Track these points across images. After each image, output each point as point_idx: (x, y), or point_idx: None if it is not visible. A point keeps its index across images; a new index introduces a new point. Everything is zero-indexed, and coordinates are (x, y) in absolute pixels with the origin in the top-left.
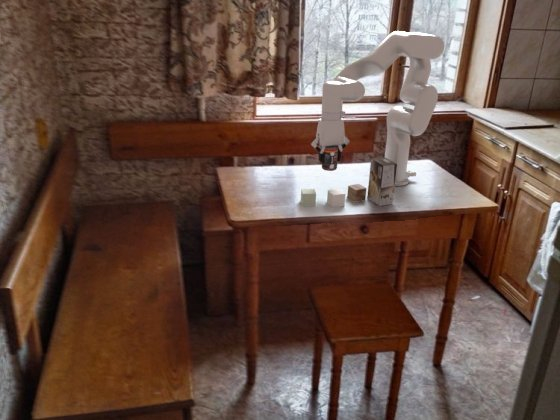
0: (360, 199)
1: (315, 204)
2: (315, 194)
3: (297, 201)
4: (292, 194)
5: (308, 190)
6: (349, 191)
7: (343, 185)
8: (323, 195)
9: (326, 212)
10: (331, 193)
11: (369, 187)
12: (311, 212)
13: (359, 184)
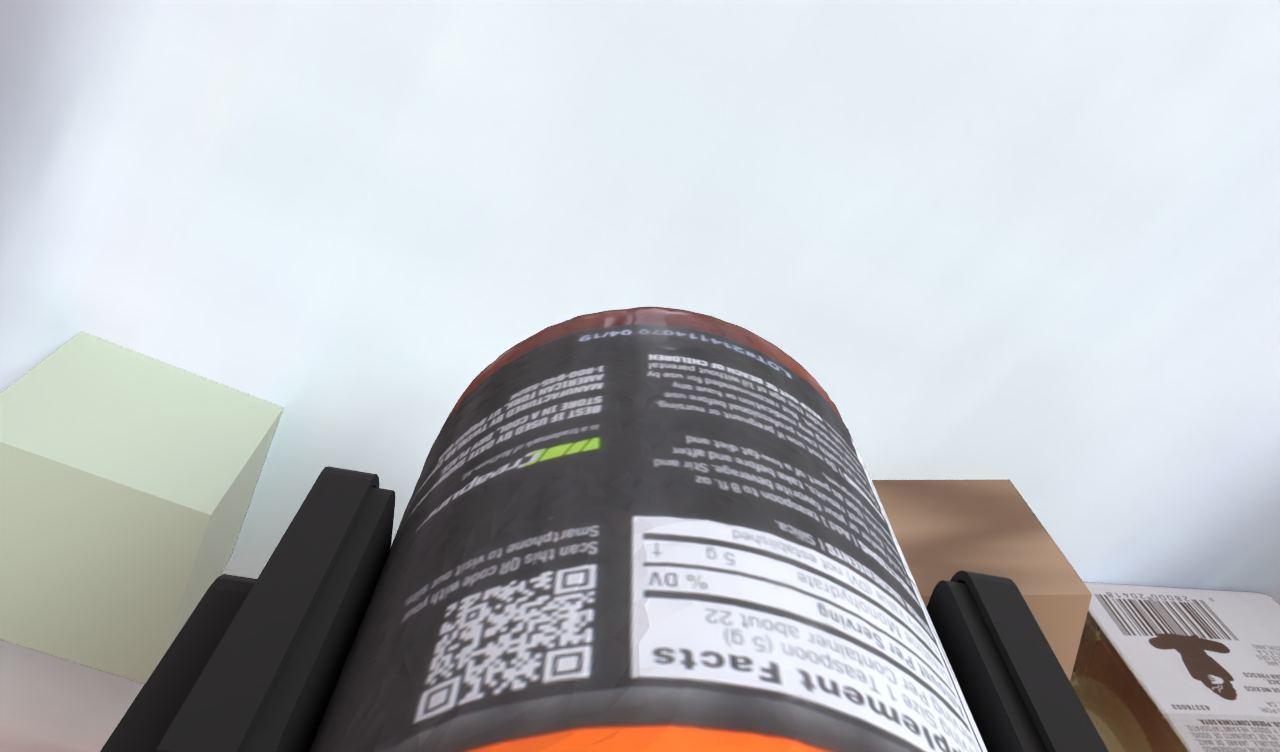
0: None
1: (221, 572)
2: (146, 674)
3: (21, 332)
4: (21, 30)
5: (72, 532)
6: None
7: (1145, 30)
8: (535, 287)
9: None
10: None
11: (1129, 729)
12: (101, 685)
13: (1077, 619)
